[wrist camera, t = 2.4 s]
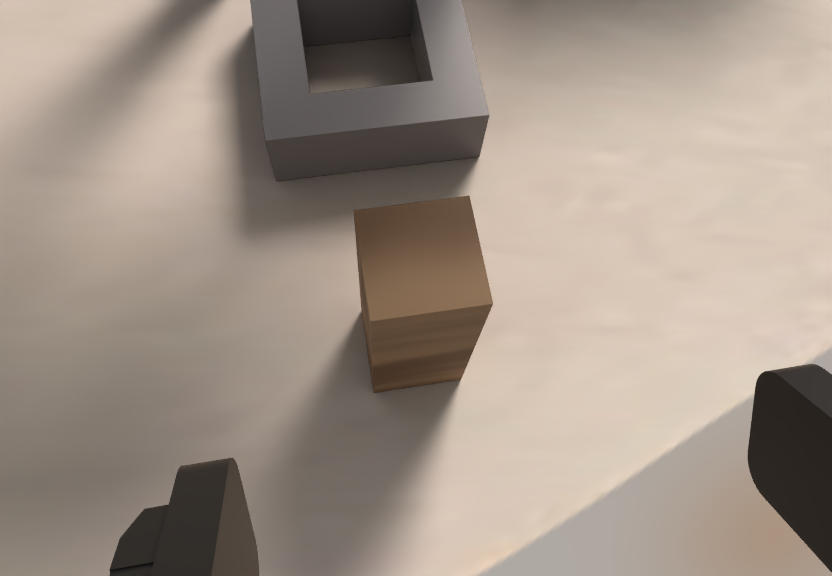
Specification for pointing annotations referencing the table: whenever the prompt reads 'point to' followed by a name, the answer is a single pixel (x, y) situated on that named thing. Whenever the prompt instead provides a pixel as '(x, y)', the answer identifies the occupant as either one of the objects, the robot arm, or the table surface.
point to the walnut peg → (420, 290)
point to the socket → (367, 107)
